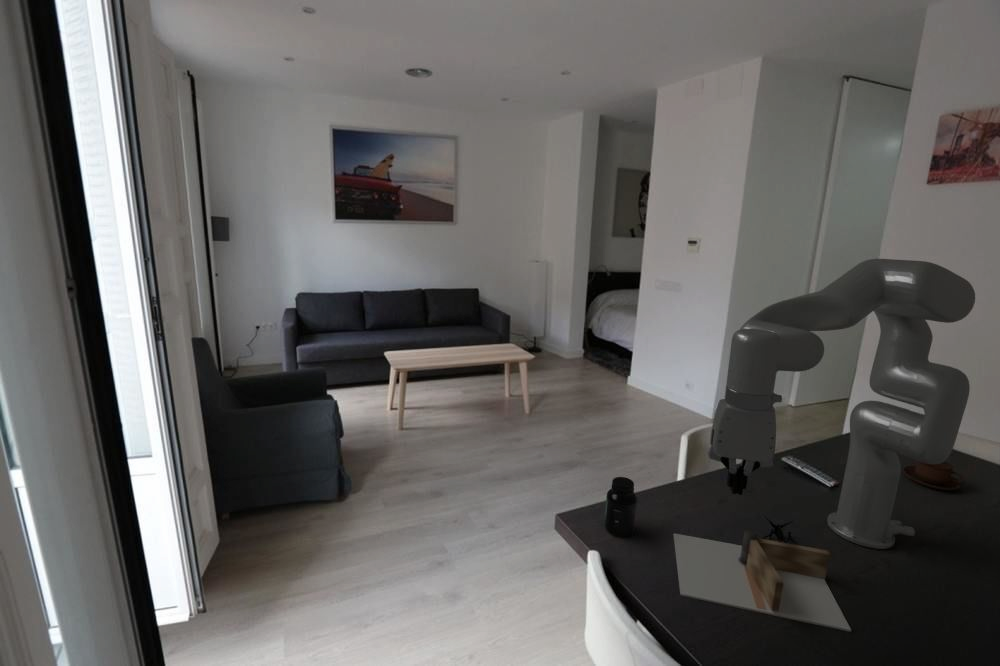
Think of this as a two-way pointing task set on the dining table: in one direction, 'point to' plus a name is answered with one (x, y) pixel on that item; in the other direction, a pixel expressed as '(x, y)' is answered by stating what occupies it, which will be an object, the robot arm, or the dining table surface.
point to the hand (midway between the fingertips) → (735, 490)
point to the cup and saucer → (934, 475)
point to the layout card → (750, 584)
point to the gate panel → (765, 575)
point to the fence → (789, 556)
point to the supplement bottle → (621, 508)
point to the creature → (779, 532)
